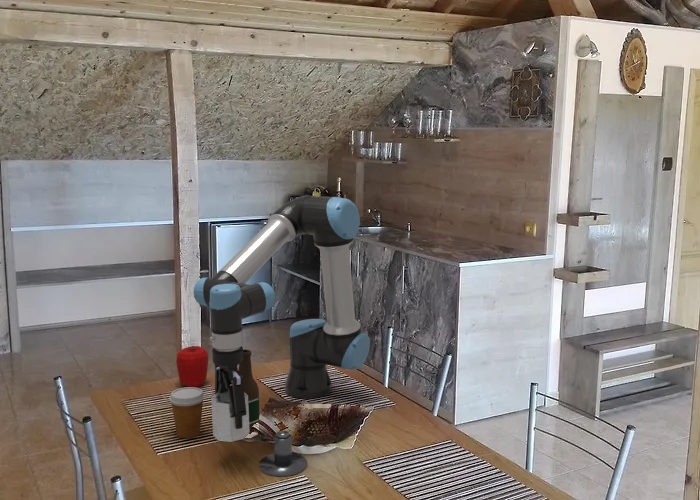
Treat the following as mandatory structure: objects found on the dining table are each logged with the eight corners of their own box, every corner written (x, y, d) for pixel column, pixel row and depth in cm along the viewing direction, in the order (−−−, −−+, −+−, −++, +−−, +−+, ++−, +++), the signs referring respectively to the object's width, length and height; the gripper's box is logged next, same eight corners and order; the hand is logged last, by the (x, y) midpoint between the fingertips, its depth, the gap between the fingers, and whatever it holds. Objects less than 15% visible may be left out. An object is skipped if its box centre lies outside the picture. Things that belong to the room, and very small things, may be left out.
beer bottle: (265, 430, 199) (263, 348, 195) (252, 441, 191) (251, 356, 187) (240, 426, 201) (238, 345, 197) (227, 437, 194) (225, 353, 190)
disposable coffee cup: (197, 442, 191) (196, 400, 189) (164, 439, 192) (163, 397, 190) (211, 428, 200) (210, 387, 198) (179, 425, 202) (178, 385, 200)
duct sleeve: (240, 423, 184) (239, 387, 182) (253, 436, 177) (251, 398, 175) (209, 431, 180) (207, 394, 178) (221, 444, 173) (219, 406, 171)
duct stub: (294, 450, 186) (294, 419, 185) (315, 469, 176) (315, 436, 174) (251, 461, 180) (251, 429, 179) (271, 481, 170) (270, 447, 169)
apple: (184, 378, 239) (182, 340, 237) (213, 380, 238) (212, 341, 235) (172, 390, 229) (170, 349, 226) (202, 391, 227) (201, 351, 225)
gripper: (199, 338, 181) (203, 420, 186) (228, 362, 163) (232, 453, 168) (226, 333, 185) (230, 414, 189) (258, 356, 167) (261, 445, 171)
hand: (231, 432), depth 179 cm, fingers closed on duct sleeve, 8 cm apart
